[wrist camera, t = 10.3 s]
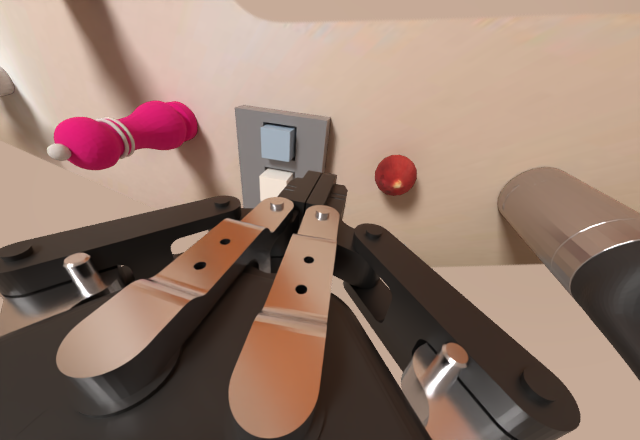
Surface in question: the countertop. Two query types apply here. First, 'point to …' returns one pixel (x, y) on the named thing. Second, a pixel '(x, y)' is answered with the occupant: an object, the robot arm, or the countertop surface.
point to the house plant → (5, 83)
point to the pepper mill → (122, 134)
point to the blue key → (278, 142)
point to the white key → (274, 182)
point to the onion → (395, 175)
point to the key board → (252, 165)
